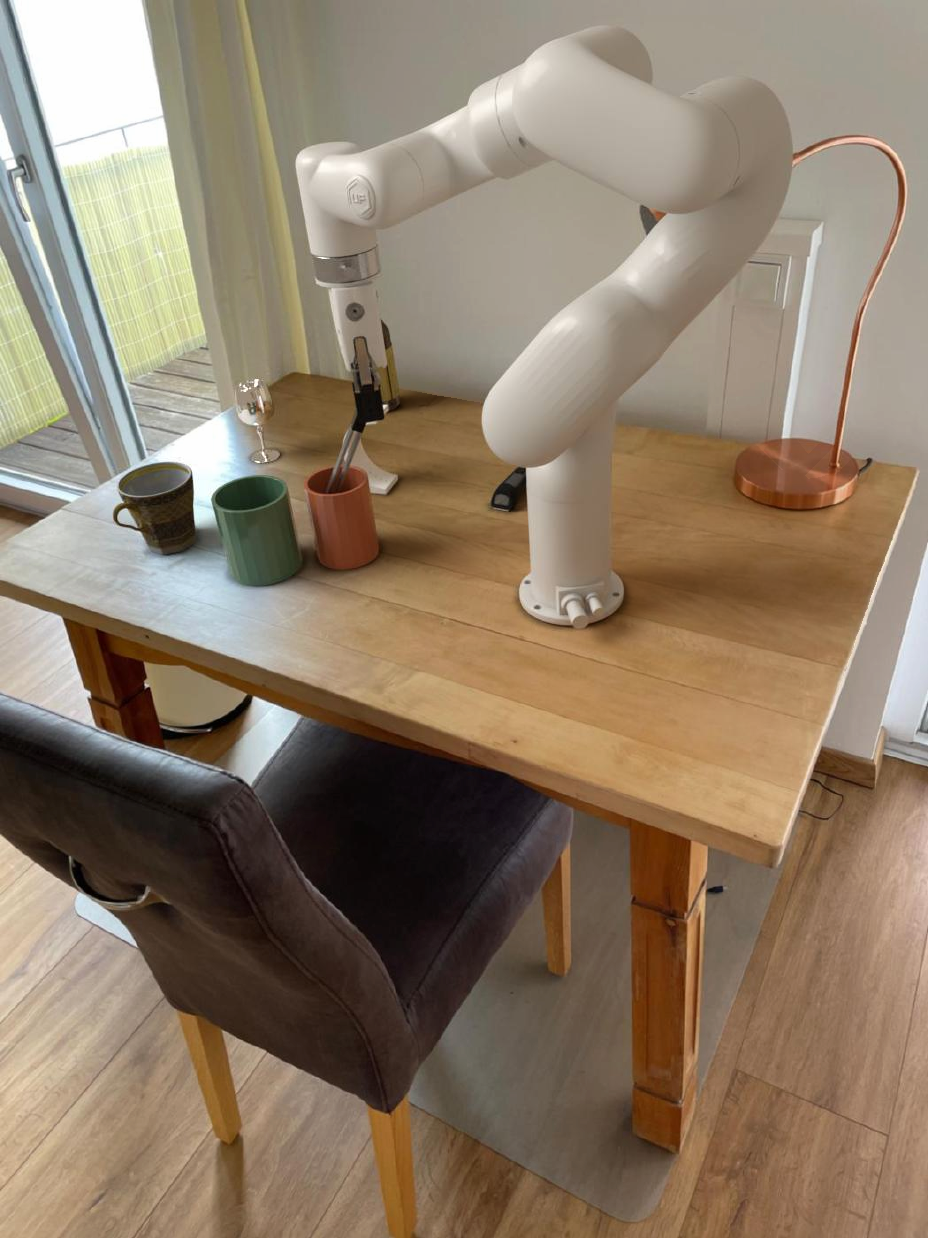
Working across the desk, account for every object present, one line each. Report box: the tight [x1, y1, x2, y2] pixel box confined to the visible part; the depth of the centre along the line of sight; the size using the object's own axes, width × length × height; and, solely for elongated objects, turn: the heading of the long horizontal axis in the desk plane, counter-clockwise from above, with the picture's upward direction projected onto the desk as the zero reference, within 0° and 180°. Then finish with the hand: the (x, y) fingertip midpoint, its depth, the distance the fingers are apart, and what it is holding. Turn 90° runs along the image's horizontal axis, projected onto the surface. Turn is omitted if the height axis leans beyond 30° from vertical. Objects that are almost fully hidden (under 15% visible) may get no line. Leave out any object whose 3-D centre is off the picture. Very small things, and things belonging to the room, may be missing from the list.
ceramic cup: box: [112, 461, 197, 556], centre depth 136 cm, size 13×10×10 cm
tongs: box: [324, 372, 381, 494], centre depth 125 cm, size 2×10×18 cm, turn 100°
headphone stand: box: [341, 405, 399, 495], centre depth 146 cm, size 5×6×12 cm
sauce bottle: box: [375, 288, 401, 412], centre depth 166 cm, size 6×6×20 cm
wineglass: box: [234, 379, 281, 464], centre depth 156 cm, size 6×6×12 cm
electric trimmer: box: [490, 467, 527, 512], centre depth 144 cm, size 4×16×3 cm, turn 153°
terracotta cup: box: [303, 464, 380, 571], centre depth 131 cm, size 8×8×11 cm
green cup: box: [210, 474, 303, 587], centre depth 130 cm, size 10×10×11 cm
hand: (370, 415), depth 123 cm, fingers closed on tongs, 2 cm apart
